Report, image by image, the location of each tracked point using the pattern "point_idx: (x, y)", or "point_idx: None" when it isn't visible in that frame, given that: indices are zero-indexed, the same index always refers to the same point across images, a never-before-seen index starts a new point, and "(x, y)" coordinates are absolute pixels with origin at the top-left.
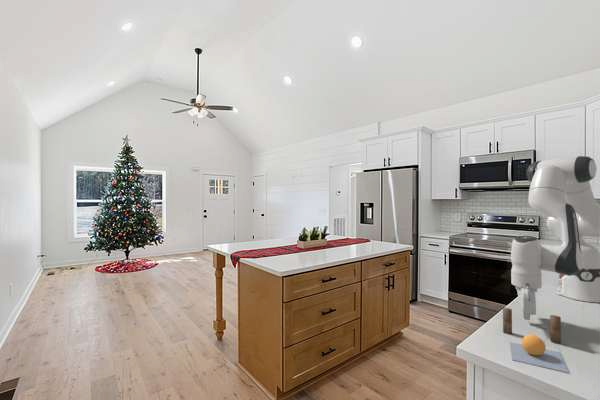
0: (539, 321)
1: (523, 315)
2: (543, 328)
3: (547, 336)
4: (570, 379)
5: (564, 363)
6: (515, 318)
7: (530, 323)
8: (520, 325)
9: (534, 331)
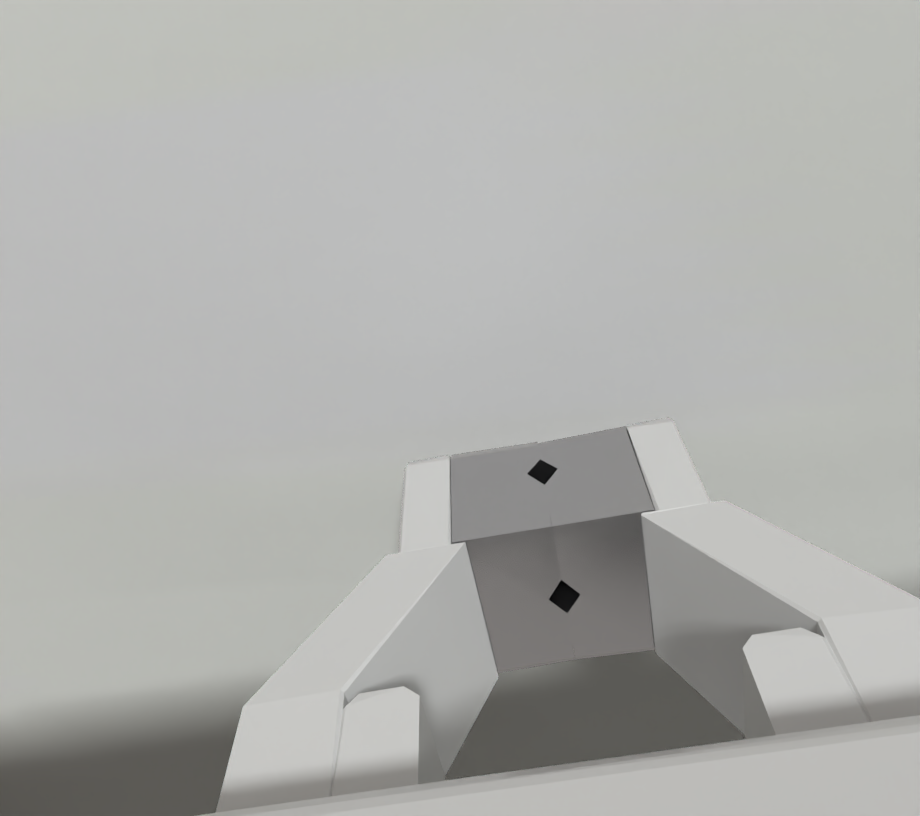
0: None
1: (560, 468)
2: None
3: (20, 741)
4: None
5: None
6: (765, 128)
7: None
8: (219, 323)
9: (77, 582)
